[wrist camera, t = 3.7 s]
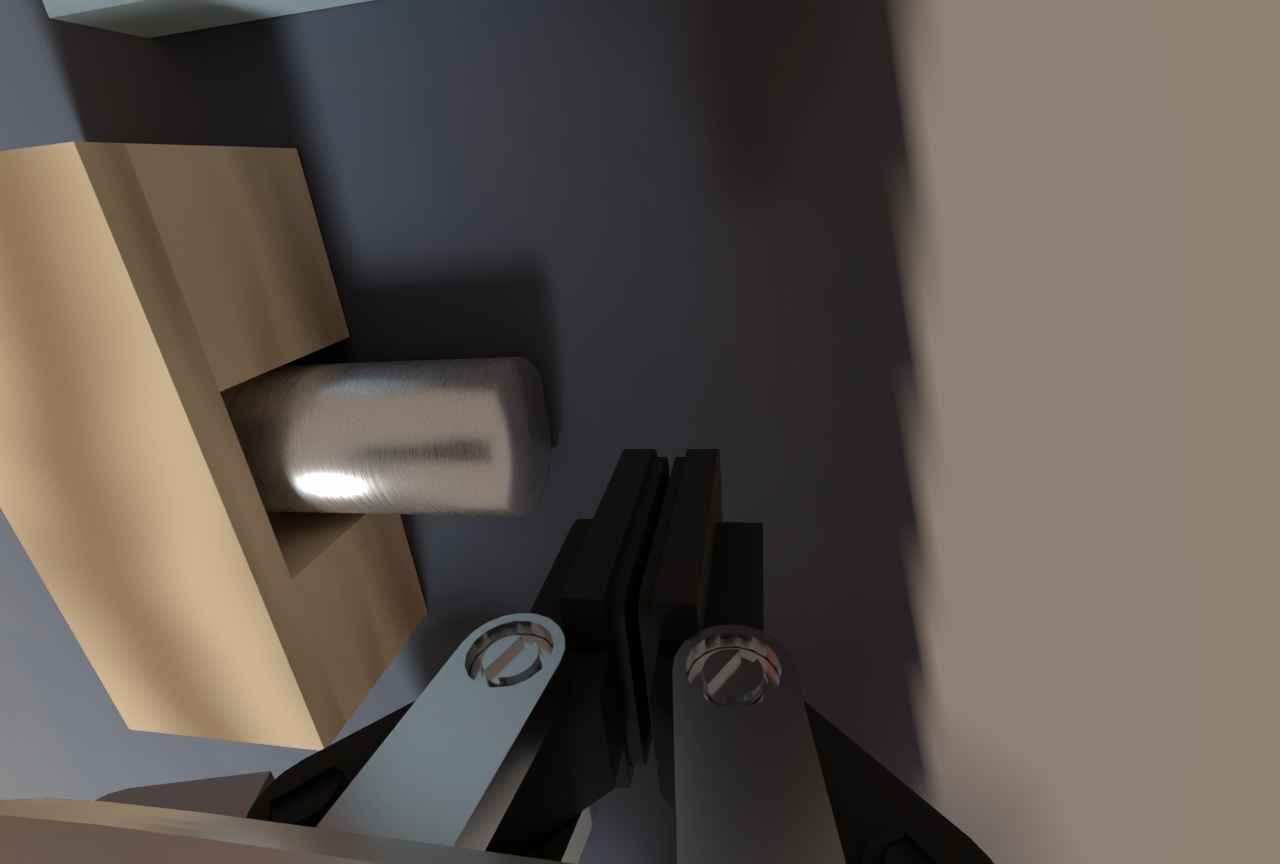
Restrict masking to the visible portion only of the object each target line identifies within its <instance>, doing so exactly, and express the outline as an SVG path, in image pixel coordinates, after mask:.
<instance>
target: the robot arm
mask: <svg viewBox="0 0 1280 864" xmlns="http://www.w3.org/2000/svg"><path fill="white" fill-rule="evenodd" d="M652 736H653V745H654V753H655V761H656V765H657V766H658V774H659V783H660V791H661V794H662V796H663V797H664V798H665V799H666V801H667V802H668V803H669V805H670V806H671V807H672V808H673V810H674V811H675V812H676V838H677V864H994V863H993V862H992V860H991V859H990V858H989V857H988V856H987V855H986V854H985V853H984V852H983V851H982V850H981V849H980V848H979V847H978V846H977V845H976V844H975V843H974V842H973V840H972V839H971V838H969V837H968V836H967V835H966V834H965V833H963V832H962V831H961V830H960V829H959V828H957V827H956V826H955V825H954V824H952V823H951V822H950V821H949V820H948V819H946V818H945V817H944V816H943V815H942V814H940V813H939V812H938V811H937V810H936V809H934V808H933V807H932V806H931V805H930V804H928V803H927V802H926V801H925V800H923V799H922V798H921V797H920V796H919V795H917V794H916V793H915V792H914V791H913V790H911V789H910V788H909V787H908V786H906V785H905V784H904V783H903V782H902V781H900V780H899V779H898V778H897V777H896V776H894V775H893V774H892V773H891V772H890V771H888V770H887V769H886V768H885V767H883V766H882V765H881V764H880V763H879V762H877V761H876V760H875V759H874V758H873V757H871V756H870V755H869V754H868V753H866V752H865V751H864V750H863V749H862V748H860V747H859V746H858V745H857V744H856V743H854V742H853V741H852V740H851V739H850V738H848V737H847V736H846V735H845V734H843V733H842V732H841V731H840V730H839V729H837V728H836V727H835V726H834V725H833V724H831V723H830V722H829V721H828V720H826V719H825V718H824V717H823V716H822V715H820V714H819V713H818V712H817V711H816V710H814V709H813V708H812V707H811V706H809V705H808V704H807V703H806V702H805V701H803V698H802V694H801V690H800V686H799V682H798V679H797V675H796V671H795V667H794V664H793V662H792V660H791V658H790V655H789V653H788V651H787V650H786V649H785V648H784V647H783V646H782V645H781V644H780V643H779V642H778V641H777V640H776V639H775V638H773V637H772V636H770V635H768V634H766V633H765V632H764V626H763V523H740V522H723V520H722V496H721V472H720V453H719V449H687V453H686V457H675V460H674V464H673V468H672V471H671V475H670V476H669V465H668V459H667V457H657V452H656V450H655V449H624V451H623V452H622V455H621V457H620V459H619V461H618V464H617V466H616V468H615V471H614V473H613V475H612V477H611V480H610V482H609V484H608V486H607V489H606V491H605V493H604V495H603V498H602V500H601V502H600V504H599V507H598V509H597V511H596V514H595V516H594V518H593V519H578V520H576V521H575V522H574V524H573V525H572V527H571V529H570V531H569V533H568V535H567V537H566V539H565V542H564V544H563V546H562V548H561V550H560V552H559V554H558V556H557V558H556V560H555V562H554V564H553V566H552V568H551V570H550V572H549V574H548V576H547V578H546V580H545V582H544V585H543V587H542V589H541V591H540V593H539V595H538V597H537V599H536V601H535V603H534V605H533V607H532V609H531V611H530V613H517V614H511V615H506V616H502V617H500V618H497V619H494V620H492V621H489V622H487V623H486V624H484V625H482V626H481V627H479V628H478V629H476V630H474V631H473V632H472V633H471V634H470V635H469V636H468V637H467V638H466V639H465V640H464V641H463V642H462V643H461V644H460V646H459V647H458V648H457V649H456V651H455V652H454V653H453V655H452V656H451V657H450V658H449V660H448V661H447V662H446V663H445V665H444V666H443V667H442V668H441V670H440V671H439V672H438V673H437V675H436V676H435V677H434V679H433V680H432V681H431V682H430V684H429V685H428V686H427V687H426V689H425V690H424V691H423V692H422V694H421V695H420V696H419V697H418V699H417V700H416V701H414V702H412V703H410V704H408V705H406V706H404V707H402V708H401V709H399V710H397V711H395V712H393V713H391V714H389V715H387V716H385V717H383V718H382V719H380V720H378V721H376V722H374V723H372V724H370V725H368V726H366V727H364V728H362V729H361V730H359V731H357V732H355V733H353V734H351V735H349V736H347V737H345V738H343V739H342V740H340V741H338V742H336V743H334V744H332V745H330V746H328V747H326V748H324V749H323V750H321V751H319V752H317V753H315V754H313V755H311V756H309V757H307V758H305V759H304V760H302V761H300V762H299V763H297V764H296V765H294V766H292V767H291V768H289V769H288V770H286V771H285V772H283V773H282V774H281V775H280V776H279V777H278V778H276V779H274V777H273V775H272V773H271V771H268V772H260V773H251V774H243V775H235V776H227V777H218V778H210V779H202V780H194V781H185V782H177V783H169V784H161V785H152V786H144V787H136V788H128V789H125V790H121V791H117V792H114V793H110V794H107V795H105V796H103V797H101V798H99V799H97V800H95V801H90V800H70V799H51V798H42V799H18V800H0V864H578V861H579V859H580V856H581V854H582V851H583V848H584V846H585V843H586V841H587V838H588V836H589V833H590V831H591V828H592V826H593V821H594V817H595V813H596V804H595V802H596V801H597V800H598V799H600V798H601V797H603V796H604V795H605V794H607V793H608V792H610V791H611V790H613V789H614V787H622V788H630V785H631V780H632V775H633V770H634V765H635V764H642V765H645V764H646V763H647V761H648V756H649V751H650V746H651V740H652Z"/></svg>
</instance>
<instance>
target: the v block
mask: <svg viewBox="0 0 1280 864" xmlns="http://www.w3.org/2000/svg"><path fill="white" fill-rule="evenodd" d="M42 1H43V3H44V6H45V9H46V11H47V14H48V16H49V18H52V19H56V20H61V21H66V22H71V23H76V24H81V25H86V26H91V27H96V28H101V29H106V30H111V31H116V32H120V33H125V34H130V35H135V36H140V37H145V38H152V37H158V36H164V35H170V34H176V33H182V32H188V31H194V30H200V29H206V28H212V27H218V26H224V25H230V24H236V23H242V22H247V21H253V20H259V19H265V18H271V17H277V16H283V15H289V14H295V13H301V12H307V11H313V10H319V9H325V8H331V7H336V6H342V5H348V4H354V3H360V2H366V1H372V0H42Z"/></svg>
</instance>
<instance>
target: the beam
mask: <svg viewBox="0 0 1280 864" xmlns="http://www.w3.org/2000/svg"><path fill="white" fill-rule="evenodd" d="M348 337H350V336H349V332H348V328H347V325H346V321H345V318H344V314H343V311H342V307H341V304H340V300H339V297H338V293H337V289H336V286H335V282H334V279H333V275H332V272H331V268H330V265H329V261H328V258H327V254H326V250H325V247H324V243H323V240H322V236H321V233H320V229H319V226H318V222H317V219H316V215H315V211H314V208H313V204H312V201H311V197H310V194H309V190H308V187H307V183H306V179H305V176H304V172H303V169H302V165H301V162H300V158H299V155H298V151H297V148H266V147H233V146H200V145H167V144H135V143H102V142H67V143H60V144H52V145H44V146H37V147H29V148H21V149H14V150H6V151H0V508H1V509H2V511H3V513H4V514H5V516H6V518H7V520H8V521H9V523H10V525H11V526H12V528H13V530H14V532H15V533H16V535H17V537H18V539H19V540H20V542H21V544H22V545H23V547H24V549H25V551H26V552H27V554H28V556H29V557H30V559H31V561H32V563H33V564H34V566H35V568H36V570H37V571H38V573H39V575H40V576H41V578H42V580H43V582H44V583H45V585H46V587H47V588H48V590H49V592H50V594H51V595H52V597H53V599H54V601H55V602H56V604H57V606H58V607H59V609H60V611H61V613H62V614H63V616H64V618H65V619H66V621H67V623H68V625H69V626H70V628H71V630H72V632H73V633H74V635H75V637H76V638H77V640H78V642H79V644H80V645H81V647H82V649H83V650H84V652H85V654H86V656H87V657H88V659H89V661H90V663H91V664H92V666H93V668H94V669H95V671H96V673H97V675H98V676H99V678H100V680H101V681H102V683H103V685H104V687H105V688H106V690H107V692H108V694H109V695H110V697H111V699H112V700H113V702H114V704H115V706H116V707H117V709H118V711H119V712H120V714H121V716H122V718H123V719H124V721H125V723H126V724H127V726H128V728H129V729H132V730H141V731H150V732H159V733H168V734H177V735H186V736H195V737H204V738H213V739H222V740H230V741H239V742H248V743H257V744H266V745H275V746H284V747H293V748H302V749H311V750H320V751H321V750H323V749H324V748H326V747H328V746H329V745H330V744H331V742H332V741H333V740H334V738H335V737H336V736H337V734H338V733H339V731H340V730H341V729H342V727H343V726H344V725H345V723H346V722H347V721H348V719H349V718H350V717H351V715H352V714H353V713H354V711H355V710H356V708H357V707H358V706H359V704H360V703H361V702H362V700H363V699H364V698H365V696H366V695H367V694H368V692H369V691H370V690H371V688H372V687H373V685H374V684H375V683H376V681H377V680H378V679H379V677H380V676H381V675H382V673H383V672H384V671H385V669H386V668H387V667H388V665H389V664H390V662H391V661H392V660H393V658H394V657H395V656H396V654H397V653H398V652H399V650H400V649H401V648H402V646H403V645H404V644H405V642H406V641H407V639H408V638H409V637H410V635H411V634H412V633H413V631H414V630H415V629H416V627H417V626H418V625H419V623H420V622H421V621H422V619H423V618H424V617H425V615H426V614H427V609H426V605H425V601H424V598H423V594H422V591H421V587H420V584H419V580H418V577H417V573H416V570H415V566H414V562H413V559H412V555H411V552H410V548H409V545H408V541H407V538H406V534H405V531H404V527H403V523H402V520H401V516H400V514H370V513H317V512H266V511H265V509H264V506H263V503H262V501H261V498H260V496H259V493H258V490H257V488H256V485H255V482H254V480H253V477H252V475H251V472H250V469H249V467H248V464H247V462H246V459H245V456H244V454H243V451H242V448H241V446H240V443H239V441H238V438H237V435H236V433H235V430H234V428H233V425H232V422H231V420H230V417H229V415H228V412H227V409H226V407H225V404H224V401H223V399H222V396H221V394H220V392H221V391H223V390H225V389H228V388H230V387H232V386H235V385H237V384H239V383H242V382H244V381H247V380H249V379H251V378H254V377H256V376H258V375H261V374H263V373H265V372H268V371H270V370H272V369H275V368H277V367H280V366H282V365H284V364H287V363H289V362H291V361H294V360H296V359H298V358H301V357H303V356H305V355H308V354H310V353H313V352H315V351H317V350H320V349H322V348H324V347H327V346H329V345H331V344H334V343H336V342H338V341H341V340H343V339H346V338H348Z"/></svg>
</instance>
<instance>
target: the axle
mask: <svg viewBox="0 0 1280 864" xmlns="http://www.w3.org/2000/svg"><path fill="white" fill-rule="evenodd" d="M220 394H221V396H222V399H223V401H224V404H225V407H226V409H227V412H228V415H229V417H230V420H231V422H232V425H233V428H234V430H235V433H236V435H237V438H238V441H239V443H240V446H241V448H242V451H243V454H244V456H245V459H246V462H247V464H248V467H249V469H250V472H251V475H252V477H253V480H254V482H255V485H256V488H257V490H258V493H259V496H260V498H261V501H262V503H263V506H264V509H265V511H266V512H317V513H370V514H424V515H477V516H525V515H527V514H529V513H530V512H531V511H532V510H533V509H534V508H535V507H536V505H537V504H538V502H539V500H540V498H541V496H542V493H543V490H544V487H545V484H546V480H547V476H548V471H549V465H550V456H551V433H550V427H549V421H548V414H547V408H546V402H545V396H544V390H543V383H542V379H541V377H540V375H539V373H538V371H537V369H536V368H535V366H534V365H533V364H532V363H531V362H530V361H529V360H528V359H526V358H524V357H501V358H474V359H447V360H420V361H393V362H366V363H340V364H313V365H286V366H280V367H277V368H275V369H272V370H270V371H268V372H265V373H263V374H261V375H258V376H256V377H254V378H251V379H249V380H247V381H244V382H242V383H239V384H237V385H235V386H232V387H230V388H228V389H225V390H223V391H221V392H220Z"/></svg>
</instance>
